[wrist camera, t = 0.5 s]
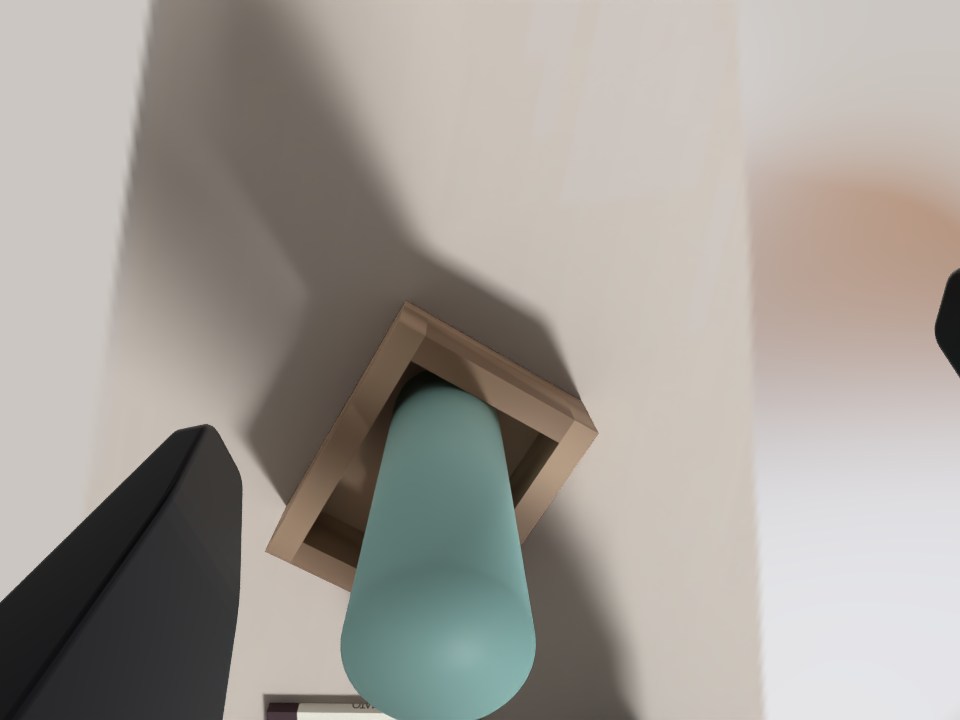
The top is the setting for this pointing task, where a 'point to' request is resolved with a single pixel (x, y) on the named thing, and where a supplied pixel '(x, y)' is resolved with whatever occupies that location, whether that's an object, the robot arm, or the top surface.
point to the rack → (365, 425)
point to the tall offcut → (440, 566)
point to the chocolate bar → (324, 712)
